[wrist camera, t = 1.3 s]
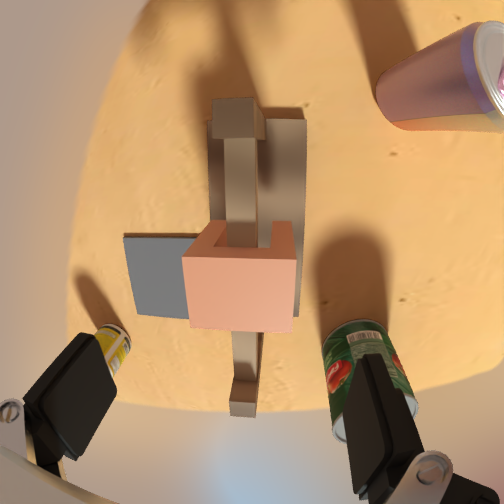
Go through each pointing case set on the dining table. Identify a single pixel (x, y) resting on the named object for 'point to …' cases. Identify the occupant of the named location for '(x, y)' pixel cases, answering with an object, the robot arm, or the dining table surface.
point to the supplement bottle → (113, 345)
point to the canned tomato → (344, 361)
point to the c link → (241, 281)
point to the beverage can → (449, 83)
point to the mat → (158, 274)
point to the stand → (255, 206)
